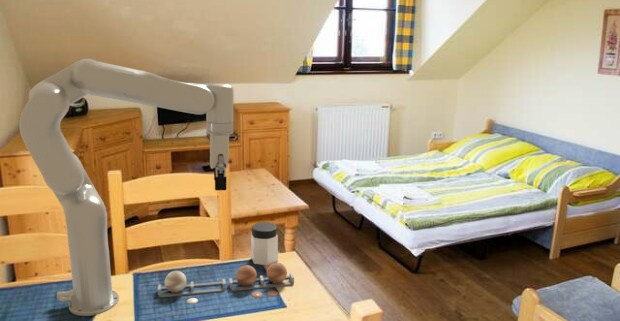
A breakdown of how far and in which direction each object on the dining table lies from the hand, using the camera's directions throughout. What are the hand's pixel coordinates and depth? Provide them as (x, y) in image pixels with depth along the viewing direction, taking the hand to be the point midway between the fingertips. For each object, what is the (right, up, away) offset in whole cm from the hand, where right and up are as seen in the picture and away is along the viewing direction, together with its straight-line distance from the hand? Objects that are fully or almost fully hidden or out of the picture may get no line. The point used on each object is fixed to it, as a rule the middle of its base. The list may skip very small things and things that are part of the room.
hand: (220, 185), depth 149 cm
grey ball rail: (+2, -30, -1) cm, 30 cm away
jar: (+12, -26, +17) cm, 33 cm away
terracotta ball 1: (+8, -29, 0) cm, 30 cm away
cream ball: (-12, -30, -4) cm, 32 cm away
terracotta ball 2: (+16, -29, +2) cm, 33 cm away
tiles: (+4, -32, -7) cm, 33 cm away
